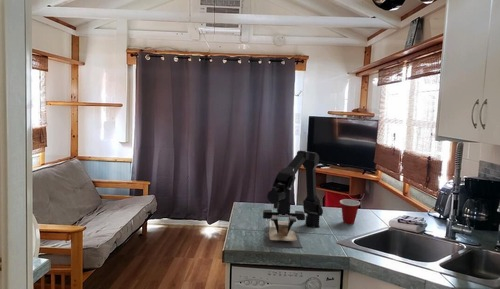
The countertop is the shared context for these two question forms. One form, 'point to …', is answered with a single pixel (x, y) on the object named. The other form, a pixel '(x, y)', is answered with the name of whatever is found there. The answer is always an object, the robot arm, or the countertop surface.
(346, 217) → the plastic cup
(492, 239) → the countertop surface
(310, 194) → the robot arm
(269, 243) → the mat
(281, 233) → the lid
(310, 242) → the countertop surface
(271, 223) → the dish
